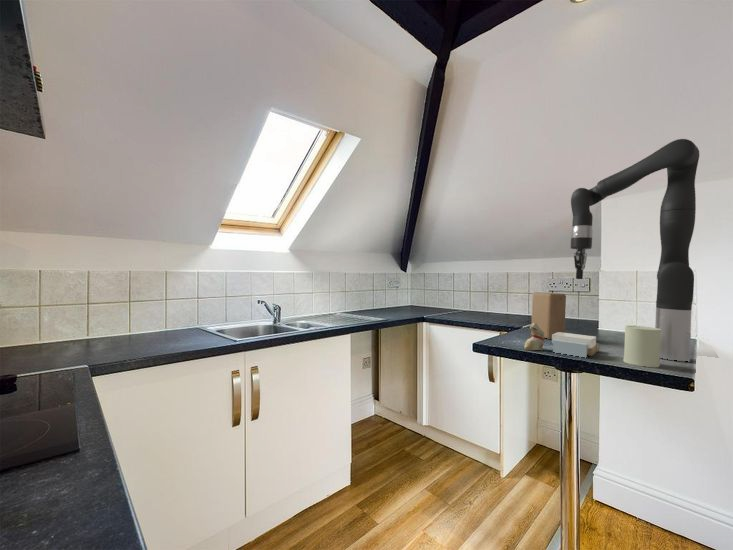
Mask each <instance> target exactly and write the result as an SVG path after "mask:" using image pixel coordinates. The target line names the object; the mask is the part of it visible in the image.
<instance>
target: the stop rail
mask: <svg viewBox="0 0 733 550" xmlns="http://www.w3.org/2000/svg"><path fill="white" fill-rule="evenodd" d="M587 348H588V344H583V343H576V342H569V341H562V340H553V343H552V353H553V352H555V353H554V354H556V353H561V354H560V355H563V354H567V355H566V356H569V355H573V356H572V357H575V356H579V357H578V358H581V357H585V358H584V359H587V358H588V356H587ZM586 357H587V358H586Z"/></svg>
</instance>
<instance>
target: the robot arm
mask: <svg viewBox="0 0 733 550" xmlns="http://www.w3.org/2000/svg"><path fill="white" fill-rule="evenodd" d="M699 159H700V150H699V148H698V146H697V145H696V144H695V142H693V141H692V140H690V139H688V138H679V139H678V138H677V139H675V140H672V141H670V142H668V143H667V144H665V145H663V146H662V147H661V148H659V149H657V150H656V151H654V152H652V153H651V154H650V155H648V156H645V157H644V158H643V159H640V161H637V162H636V163H634V164H632V165H631V166H628V167H626V168H624V169H622V170H620V171H618V172H615V173H613V174H612V175H609V176H607V177H605V178H603V179H600V181H597V184H596V185H595V186H593V187H591V188H590V189H588V188H586V187H579V188H577V189H575V190H574V191H573V192H572V194H571V196H570V207H571V213H572V224H571V225H572V227H571V232H570V249H572V250H575V252H574V254H573V259H574V268H575V270H576V271H575V278H576V280H582V279H584V277H583V276H584V270H585V268H586V263H587V259H588V258H587V257H588V253H586V250H591V249H592V248H593V232H594V231H593V213H592V212H591V209H590V208H591V207H592V206H594V205H596V204H598V203H600V202H601V201H603V200H604V199H606V198H608V197H610V196H612V195H615V194H618V193H619V192H622V191H624V190H626V189H628V188H630V187H631V186H633V185H635V184H637V183H638V182H639V181H641V180H642V179H644V178H645V177H648V176H649V175H651V174H653V173H656V172H658V171H661V170H665V169H666V171H667V172H666V173H667V175H666V177H667V185H666V190H665V192H664V196H663V198H662V201H661V205H660V211H659V213H660V214H659V236H660V237H659V238H660V249H661V250H660V259H659V266H658V269H657V272H656V280H657V286H656V289H657V290H656V301H655V326H654V328H658V329H661V336H660V359H662V358H663V360H667V359H668V360H669V361H674V360H677V361H676V362H685V361H688V362H687V363H690V362H691V361H690V360H691V344H692V343H691V340H692V338H691V337H692V333H691V332H692V331H691V330H692V328H691V327H692V309H693V308H692V307H693V302H694V289H695V288H694V287H695V274H694V271H693V269H692V268H691V267H690V260H689V259H690V257H689V252H690V245H691V242H692V237H693V235H694V229H695V225H696V224H695V223H696V208H697V207H696V206H697V205H696V200H697V199H696V185H695V184H696V176H697V170H698V169H697V168H698V164H699ZM668 360H667V361H668Z"/></svg>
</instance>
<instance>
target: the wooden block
mask: <svg viewBox="0 0 733 550" xmlns="http://www.w3.org/2000/svg"><path fill="white" fill-rule="evenodd" d="M531 300H532V301H531V302H532V303H531V325H530V326H532V324H533V323H536V324H537V325H538V327H539V328H540V329H541V330H542V331H544V336H545V338H547V339H546V340H552V334H555V333H557V332H563V333H566V331H565V330H566V307H567V305H566V303H567V295H566V294H565V293H558V292H540V291H539V292H535V291H534V292H533V293H532V299H531ZM530 335H531V336H533V333H532V331H531V330H530Z"/></svg>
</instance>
